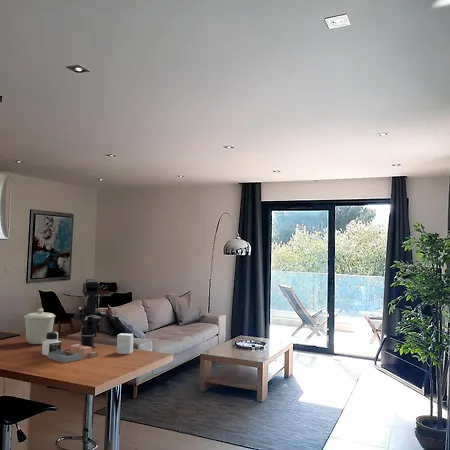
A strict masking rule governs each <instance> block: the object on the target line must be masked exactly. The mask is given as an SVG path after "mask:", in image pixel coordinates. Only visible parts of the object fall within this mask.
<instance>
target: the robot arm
mask: <svg viewBox="0 0 450 450" xmlns="http://www.w3.org/2000/svg"><path fill="white" fill-rule="evenodd" d="M85 280H86V281H85V282H84V283H82V289H81V293H82V297H83V299H84V301H85V304H84V306H83V307H81V306H78V307H76V309H75V310H76V313H75V314H74V315H73V320H75V321H80V322H81V324H82V327H81V328H80V338H81V343H80V345H84V346H88V347H92V349H94V348H96V346H95V345H94V344H95V343H94V341H95V338H97V332H98V329H97V326H98V325H99V323H100V321H101V320H102V319H103V318H106V317H107V313H106V311H97V308H98V300H99V299H98V297H97V296H98V294H100V293H101V285H100V283H99V282H98V281H95V279H94V278H87V279H85Z"/></svg>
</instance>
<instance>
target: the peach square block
mask: <svg viewBox="0 0 450 450" xmlns="http://www.w3.org/2000/svg"><path fill="white" fill-rule="evenodd" d="M92 351H93V348H92V347H88V346H84V347H79V353H80V354H89V353H92Z"/></svg>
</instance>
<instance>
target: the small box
mask: <svg viewBox="0 0 450 450" xmlns="http://www.w3.org/2000/svg"><path fill="white" fill-rule="evenodd" d="M132 353H134V333H122V332H121V333H119V334H117V339H116V354H123V355H124V354H125V355H131V354H132Z"/></svg>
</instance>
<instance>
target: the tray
mask: <svg viewBox="0 0 450 450" xmlns="http://www.w3.org/2000/svg"><path fill="white" fill-rule="evenodd" d="M65 351H66V349H61V350H59V351H54V352H48V356H47V359H50V360H52V361H56V362H59V363H64V364H68V363H72V361H73V362H76V361H81V360H82V359H81V355H82V354H77V355H72V356H68V355H65Z"/></svg>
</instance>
